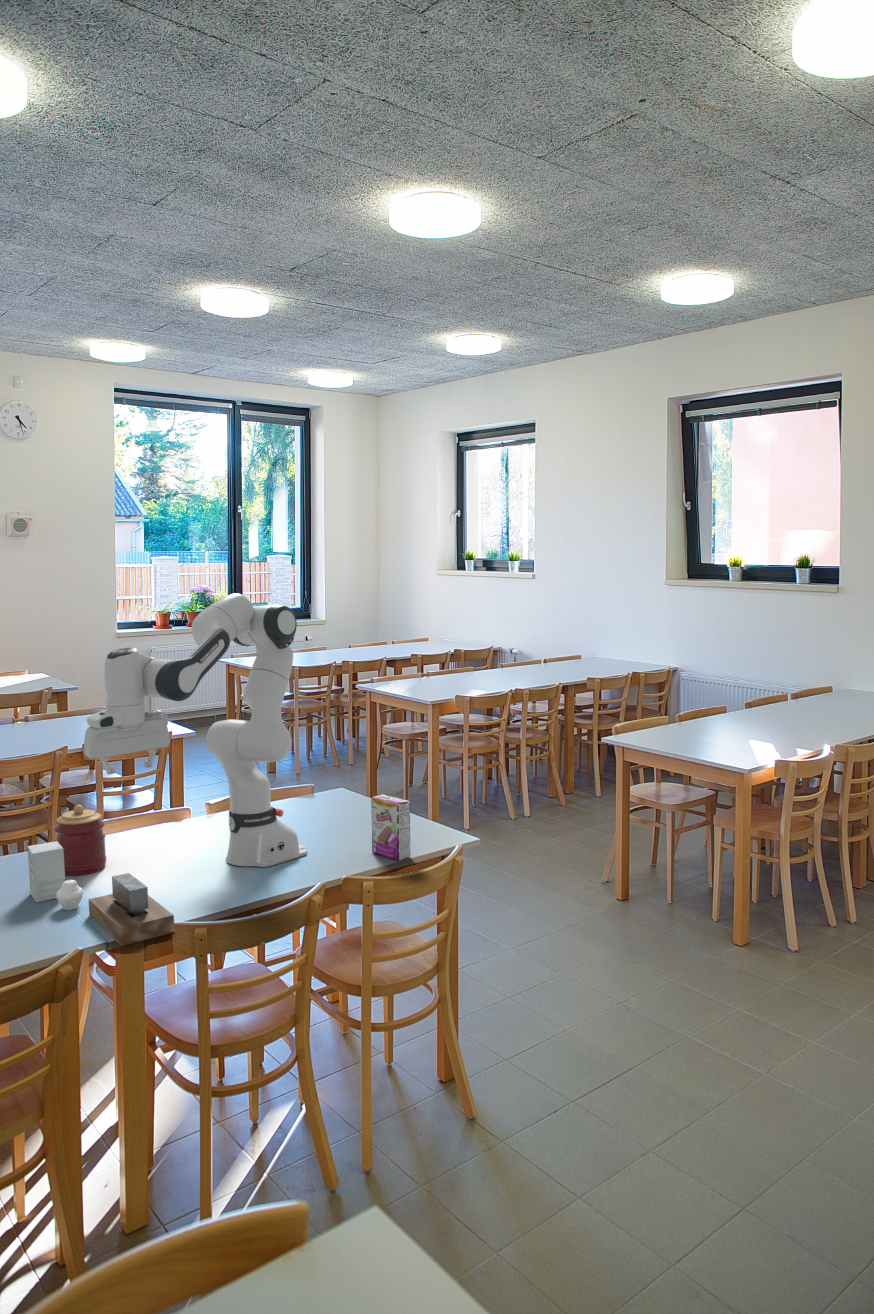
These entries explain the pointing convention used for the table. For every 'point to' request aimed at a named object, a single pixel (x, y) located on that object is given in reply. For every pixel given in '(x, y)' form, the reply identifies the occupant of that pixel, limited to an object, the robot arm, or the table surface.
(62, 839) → the canister
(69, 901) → the muffin
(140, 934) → the wooden socket board
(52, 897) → the supplement box
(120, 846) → the table surface
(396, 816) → the candy bar box
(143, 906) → the grey u-shaped block
